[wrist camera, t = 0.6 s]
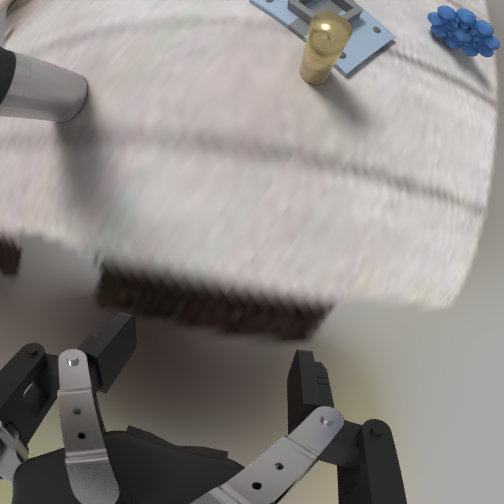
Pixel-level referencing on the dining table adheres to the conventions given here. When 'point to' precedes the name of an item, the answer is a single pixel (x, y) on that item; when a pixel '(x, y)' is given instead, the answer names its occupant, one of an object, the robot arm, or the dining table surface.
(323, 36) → the pin
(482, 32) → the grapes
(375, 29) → the square socket mounting plate
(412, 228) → the dining table surface
